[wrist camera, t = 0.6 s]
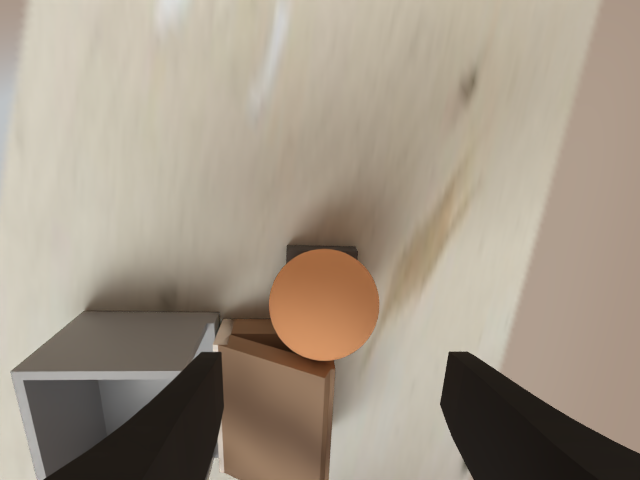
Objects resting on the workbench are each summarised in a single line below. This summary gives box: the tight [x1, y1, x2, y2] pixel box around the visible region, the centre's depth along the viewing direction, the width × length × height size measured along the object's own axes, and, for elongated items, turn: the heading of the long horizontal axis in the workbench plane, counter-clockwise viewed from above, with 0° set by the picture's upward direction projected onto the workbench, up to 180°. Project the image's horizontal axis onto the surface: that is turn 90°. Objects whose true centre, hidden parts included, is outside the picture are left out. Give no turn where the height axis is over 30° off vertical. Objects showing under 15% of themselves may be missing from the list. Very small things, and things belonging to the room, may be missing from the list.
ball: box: [269, 249, 379, 361], centre depth 16 cm, size 5×5×5 cm
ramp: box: [213, 319, 335, 480], centre depth 18 cm, size 8×6×5 cm
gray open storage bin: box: [10, 311, 220, 480], centre depth 18 cm, size 9×7×5 cm
